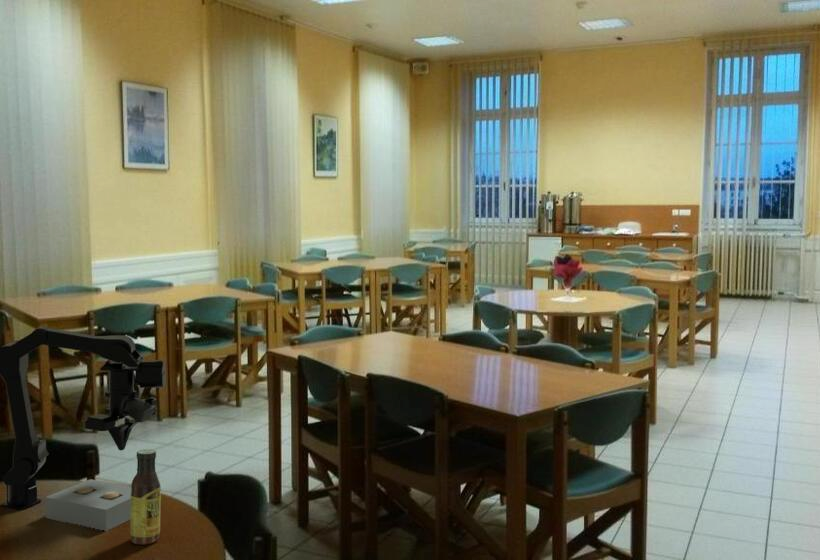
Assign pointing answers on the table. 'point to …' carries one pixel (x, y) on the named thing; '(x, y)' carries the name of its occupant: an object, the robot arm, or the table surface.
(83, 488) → the peg
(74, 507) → the board
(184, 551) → the table surface
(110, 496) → the peg
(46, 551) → the table surface
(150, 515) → the sauce bottle
